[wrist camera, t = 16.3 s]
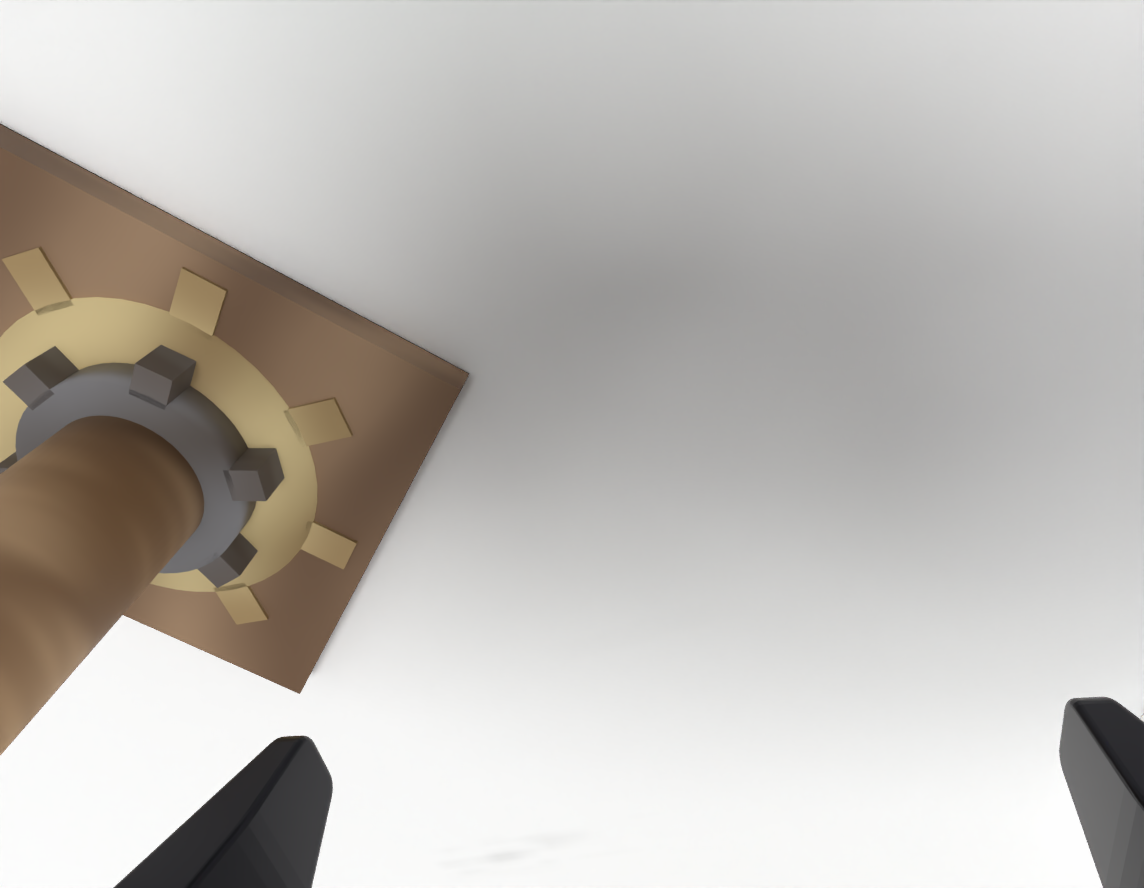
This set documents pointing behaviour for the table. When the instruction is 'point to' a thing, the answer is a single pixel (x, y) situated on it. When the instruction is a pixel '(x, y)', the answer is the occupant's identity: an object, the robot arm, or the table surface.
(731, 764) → the table surface
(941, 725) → the table surface
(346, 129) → the table surface
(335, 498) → the gear board
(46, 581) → the gear spindle
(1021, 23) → the table surface
